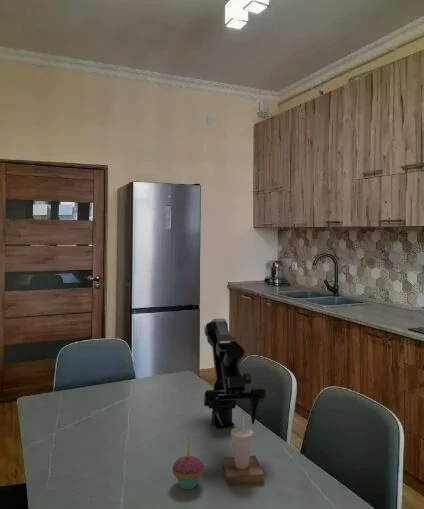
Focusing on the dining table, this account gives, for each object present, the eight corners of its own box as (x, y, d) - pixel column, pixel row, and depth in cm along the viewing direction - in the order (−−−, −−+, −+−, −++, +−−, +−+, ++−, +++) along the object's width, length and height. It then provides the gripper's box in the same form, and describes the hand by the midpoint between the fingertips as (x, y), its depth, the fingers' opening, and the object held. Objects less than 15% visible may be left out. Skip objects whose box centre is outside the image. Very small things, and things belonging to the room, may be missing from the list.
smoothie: (257, 466, 119) (258, 417, 119) (240, 474, 115) (240, 423, 115) (242, 457, 124) (243, 410, 124) (225, 464, 120) (226, 415, 120)
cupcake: (172, 476, 119) (172, 434, 118) (203, 475, 119) (203, 433, 119) (172, 494, 110) (172, 449, 110) (205, 493, 111) (205, 448, 110)
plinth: (221, 466, 124) (221, 457, 124) (255, 463, 125) (255, 455, 125) (227, 485, 114) (227, 476, 114) (264, 483, 115) (264, 474, 115)
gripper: (204, 364, 128) (209, 415, 118) (264, 362, 131) (274, 412, 121) (201, 381, 137) (205, 430, 126) (258, 378, 139) (266, 426, 129)
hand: (238, 424), depth 125 cm, fingers open, 9 cm apart
